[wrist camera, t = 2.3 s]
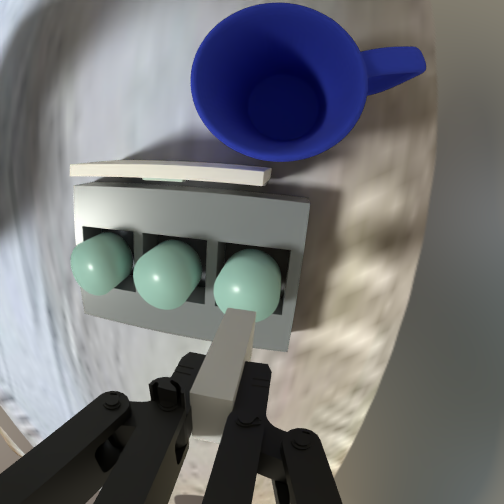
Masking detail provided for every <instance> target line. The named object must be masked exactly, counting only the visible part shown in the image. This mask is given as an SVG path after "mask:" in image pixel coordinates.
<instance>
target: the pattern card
mask: <svg viewBox="0 0 504 504" xmlns="http://www.w3.org/2000/svg"><path fill="white" fill-rule="evenodd" d="M70 176H105V177H140V178H142V180H156V181H174V182H184V181H185V180H196V181H210V182H223V183H234V184H245V185H256V186H266V184H267V183H268V180H269V179H270V178H271V168H268V167H258V166H247V165H235V164H221V163H206V162H187V161H160V160H113V161H101V162H90V163H80V164H71V165H70Z"/></svg>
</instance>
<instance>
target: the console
mask: <svg viewBox="0 0 504 504" xmlns="http://www.w3.org/2000/svg"><path fill="white" fill-rule="evenodd" d="M309 210H310V202H309V200H308V198H304V197H295V196H287V195H278V194H269V193H260V192H250V191H240V190H229V189H217V188H205V187H192V186H177V185H161V184H141V183H117V182H90V183H85V184H80V185H75V186H74V222H75V238H76V246H77V245H78V244H80V243H82V242H84V241H86V240H88V239H90V238H92V237H94V236H96V235H98V234H101V228H105V229H114V230H123V231H132V232H134V264H135V265H136V263H137V261H138V260H139V258H140V257H142V256H143V255H144V254H145V253H147V252H148V251H150V250H151V249H153V248H154V247H155V246H157V245H158V234H159V235H167V236H176V237H185V238H193V239H202V240H207V256H206V283H205V288H204V287H197V286H196V287H195V289H194V290H193V292H192V293H191V294H190V296H189V297H188V299H187V300H186V301H185V303H183V304H182V305H181V306H180V307H178V308H175V309H170V310H164V309H159V308H156V307H154V306H152V305H150V304H149V303H147V302H146V301H145V300H144V299H143V298H142V297H141V296H140V294H139V293H138V291H137V289H136V287H135V284H134V278H133V276H128V277H127V278H125V279H124V280H123V281H122V282H120V283H119V284H118V285H117V286H116V287H114V288H113V289H112V290H111V291H109V292H108V293H107V294H105V295H101V296H97V295H93V294H90V293H88V292H87V291H85V290H84V289H83V288H82V287H81V293H82V300H83V306H84V312H85V314H88V315H92V316H96V317H100V318H104V319H108V320H112V321H116V322H120V323H124V324H128V325H132V326H137V327H141V328H145V329H150V330H155V331H159V332H164V333H169V334H174V335H179V336H184V337H190V338H195V339H201V340H206V341H213V339H214V337H215V335H216V332H217V330H218V328H219V326H220V323H221V321H222V319H223V317H224V315H225V314H224V313H223V312H222V311H221V310H220V308H219V307H218V305H217V303H216V301H215V298H214V284H215V281H216V279H217V277H218V275H219V274H220V272H221V270H222V269H223V267H224V261H225V245H226V242H228V243H236V244H244V245H253V246H261V247H270V248H278V249H286V250H290V252H289V259H288V267H287V274H286V282H285V289H284V296H283V298H280V299H279V303H278V306H277V308H276V310H275V311H274V312H273V313H272V314H271V315H270V316H269V317H268V318H266V319H264V320H262V321H259V322H255V329H254V338H253V347H252V348H258V349H266V350H274V351H282V352H287V351H288V346H289V340H290V335H291V329H292V323H293V317H294V312H295V306H296V299H297V293H298V287H299V281H300V274H301V268H302V261H303V254H304V247H305V240H306V233H307V225H308V217H309Z"/></svg>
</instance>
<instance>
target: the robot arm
mask: <svg viewBox="0 0 504 504" xmlns="http://www.w3.org/2000/svg"><path fill="white" fill-rule="evenodd" d="M255 320H256V312H255V311H248V310H241V309H234V308H227V310H226V312H225V315H224V317H223V319H222V321H221V323H220V326H219V328H218V330H217V332H216V335H215V337H214V339H213V341H212V343H211V346H210V348H209V350H208V352H207V355H203V354H198V353H193V352H189V353H188V354H186V355H185V356H183V357H182V358H181V360H180V362H179V364H178V366H177V367H176V369H175V372H174V373H173V375H172V376H171V377H162V378H157V379H155V380H153V381H152V382H151V383H150V384H149V389H150V396H151V401H148V402H132V401H129V399H128V397H127V396H126V395H125V394H123V393H121V392H118V391H109V392H105V393H103V394H101V395H100V396H98V397H97V398H96V399H95V400H93V401H92V402H91V403H90V404H88V405H87V406H86V407H85V408H83V409H82V410H81V411H80V412H78V413H77V414H76V415H75V416H73V417H72V418H71V419H70V420H68V421H67V422H66V423H65V424H63V425H62V426H61V427H60V428H58V429H57V430H56V431H55V432H53V433H52V434H51V435H50V436H48V437H47V438H46V439H44V440H43V441H42V442H41V443H39V444H38V445H37V446H36V447H34V448H33V449H32V450H31V451H29V452H28V453H27V454H25V455H24V456H23V457H21V458H20V459H19V460H18V461H16V462H15V463H14V464H13V465H11V466H10V467H9V468H7V469H6V470H5V471H3V472H2V473H1V474H0V504H85V503H86V502H87V501H88V500H89V499H90V498H91V497H92V496H93V495H94V494H95V493H96V492H97V491H98V490H99V489H100V488H101V487H102V486H103V487H102V489H101V491H100V492H99V495H98V496H97V498H96V500H95V502H94V503H93V504H168V502H169V499H170V497H171V494H172V491H173V489H174V486H175V483H176V481H177V478H178V475H179V473H180V470H181V467H182V465H183V462H184V459H185V457H186V454H187V451H188V449H189V437H190V435H191V432H192V438H195V439H199V440H204V441H208V442H213V443H218V444H219V448H218V451H217V455H216V458H215V461H214V465H213V468H212V472H211V475H210V478H209V482H208V485H207V488H206V492H205V495H204V499H203V502H202V504H251V503H252V498H253V492H254V486H255V481H256V475H257V473H258V474H261V475H263V476H265V477H268V478H270V479H272V484H273V489H274V495H275V500H276V504H342V501H341V498H340V495H339V492H338V489H337V486H336V483H335V481H334V478H333V475H332V472H331V469H330V466H329V463H328V460H327V458H326V455H325V452H324V449H323V446H322V443H321V440H320V439H319V437H318V435H317V434H315V433H314V432H313V431H311V430H308V429H304V428H296V429H292V430H290V431H288V432H286V431H283V430H281V429H278V428H276V427H274V426H273V425H272V424H271V423H270V422H269V421H268V419H267V417H266V409H267V402H268V395H269V388H270V380H271V373H272V372H271V370H270V368H269V366H268V364H262V363H255V362H250V359H251V355H252V347H253V338H254V329H255Z"/></svg>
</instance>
